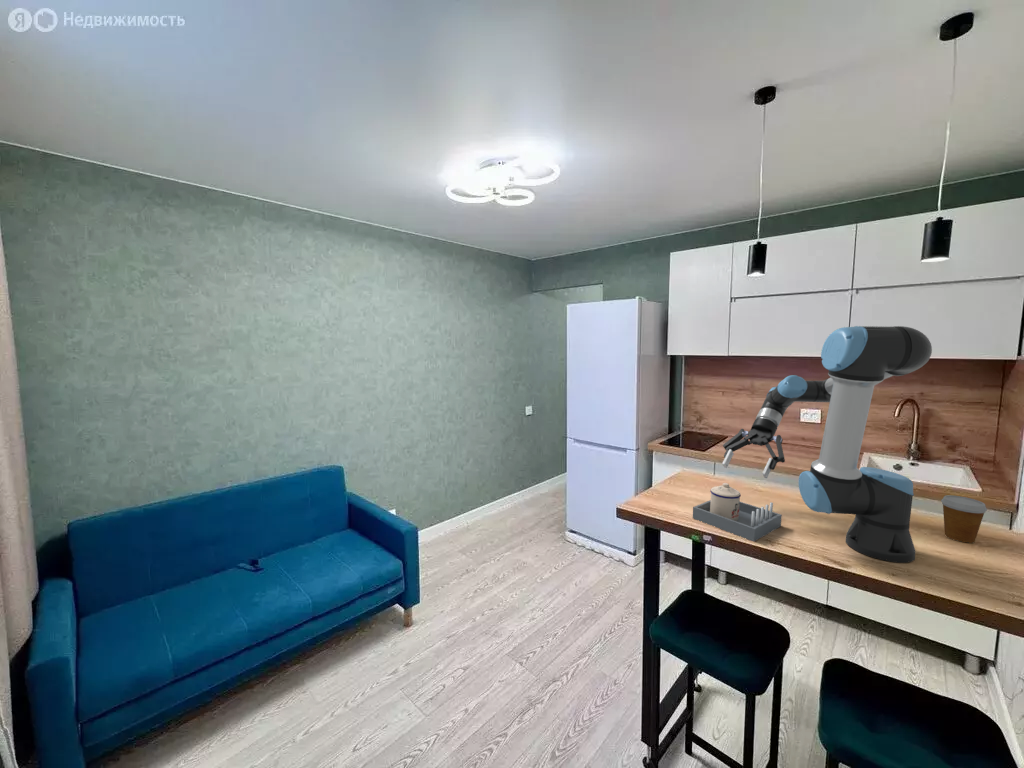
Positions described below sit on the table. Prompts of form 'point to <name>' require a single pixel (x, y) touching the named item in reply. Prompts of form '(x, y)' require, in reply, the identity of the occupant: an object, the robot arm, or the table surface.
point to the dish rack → (741, 520)
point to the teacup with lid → (725, 501)
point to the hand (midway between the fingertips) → (743, 470)
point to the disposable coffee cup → (962, 517)
